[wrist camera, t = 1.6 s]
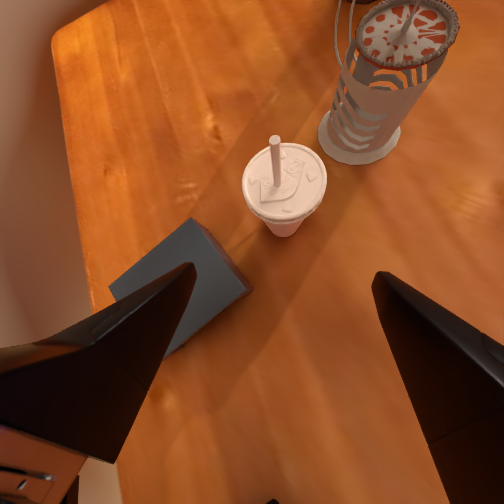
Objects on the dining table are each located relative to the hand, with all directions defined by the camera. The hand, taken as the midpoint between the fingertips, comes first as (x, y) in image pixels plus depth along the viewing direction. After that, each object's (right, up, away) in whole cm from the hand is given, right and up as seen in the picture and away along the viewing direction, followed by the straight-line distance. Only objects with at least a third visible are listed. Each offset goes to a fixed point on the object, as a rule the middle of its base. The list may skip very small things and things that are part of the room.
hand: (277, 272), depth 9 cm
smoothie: (+3, +5, +14) cm, 15 cm away
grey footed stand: (-9, -4, +14) cm, 17 cm away
